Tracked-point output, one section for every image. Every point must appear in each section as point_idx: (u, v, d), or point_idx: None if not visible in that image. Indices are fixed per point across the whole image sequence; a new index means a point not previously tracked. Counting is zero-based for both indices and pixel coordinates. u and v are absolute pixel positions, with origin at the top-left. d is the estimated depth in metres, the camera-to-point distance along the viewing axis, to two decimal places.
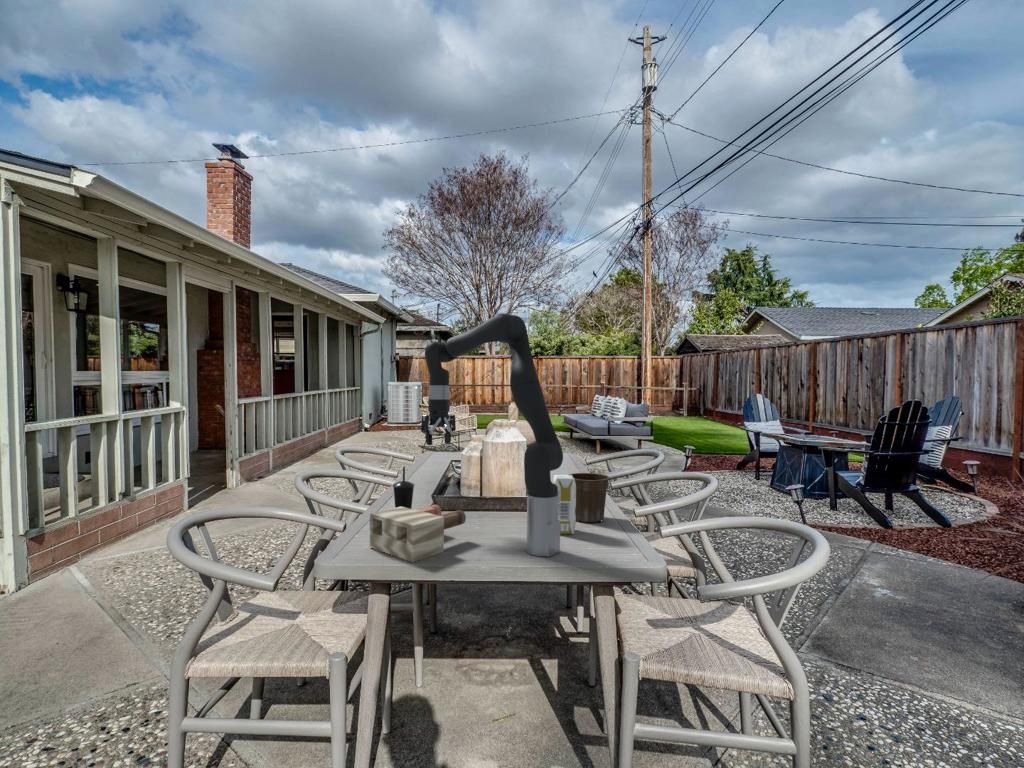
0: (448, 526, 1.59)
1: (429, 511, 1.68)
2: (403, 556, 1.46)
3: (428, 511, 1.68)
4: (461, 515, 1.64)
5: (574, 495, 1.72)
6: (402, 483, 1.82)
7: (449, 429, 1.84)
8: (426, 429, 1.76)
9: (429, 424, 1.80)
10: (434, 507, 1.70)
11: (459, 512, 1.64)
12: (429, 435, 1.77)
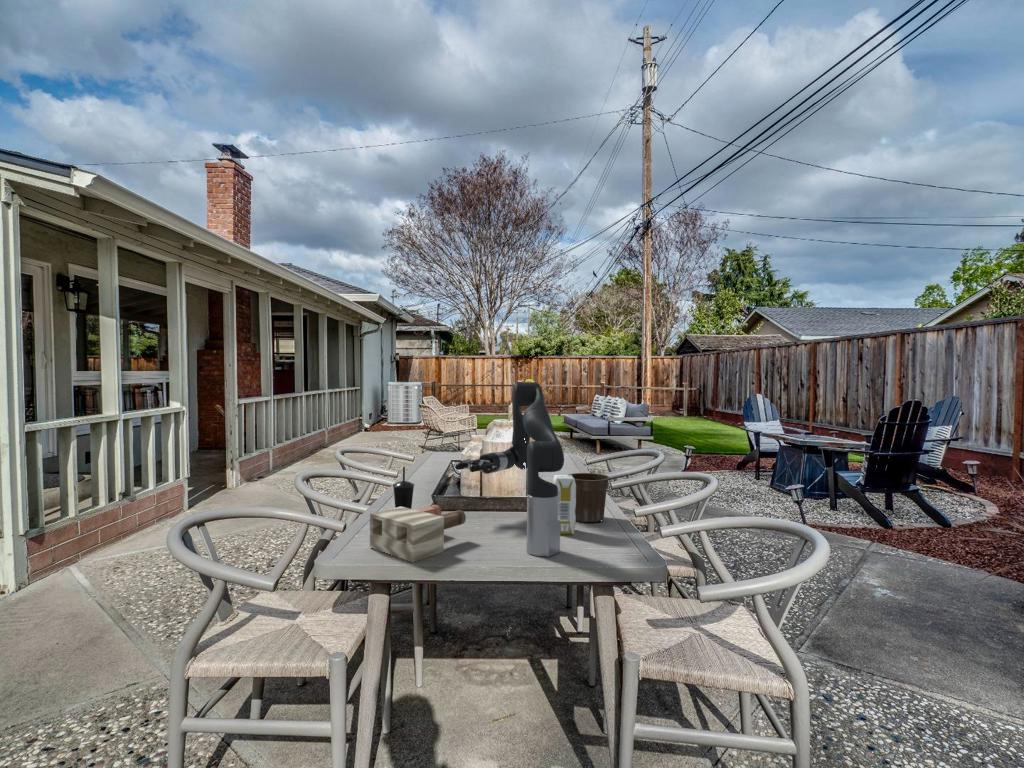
0: (448, 526, 1.59)
1: (429, 511, 1.68)
2: (403, 556, 1.46)
3: (428, 511, 1.68)
4: (461, 515, 1.64)
5: (574, 495, 1.72)
6: (402, 483, 1.82)
7: (480, 463, 1.85)
8: (462, 461, 1.91)
9: None
10: (434, 507, 1.70)
11: (459, 512, 1.64)
12: (461, 463, 1.88)
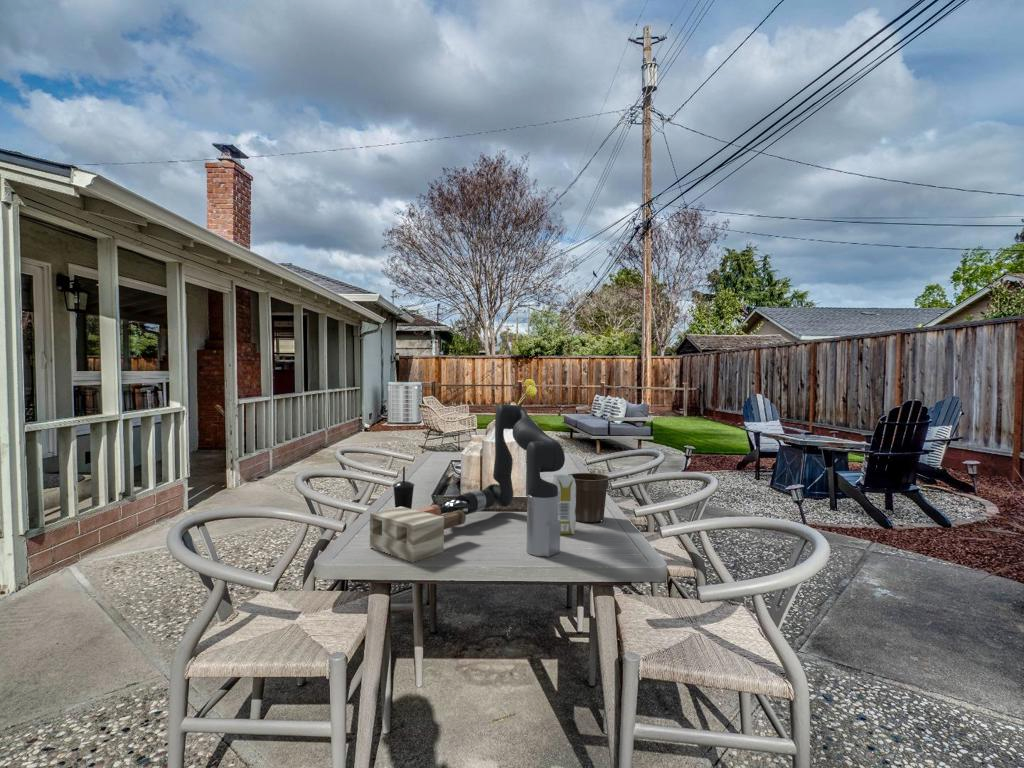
0: (448, 526, 1.59)
1: (429, 511, 1.68)
2: (403, 556, 1.46)
3: (428, 511, 1.67)
4: (461, 515, 1.64)
5: (574, 495, 1.72)
6: (402, 483, 1.82)
7: (447, 505, 1.77)
8: (442, 503, 1.79)
9: None
10: (434, 507, 1.70)
11: (459, 512, 1.64)
12: (441, 506, 1.76)
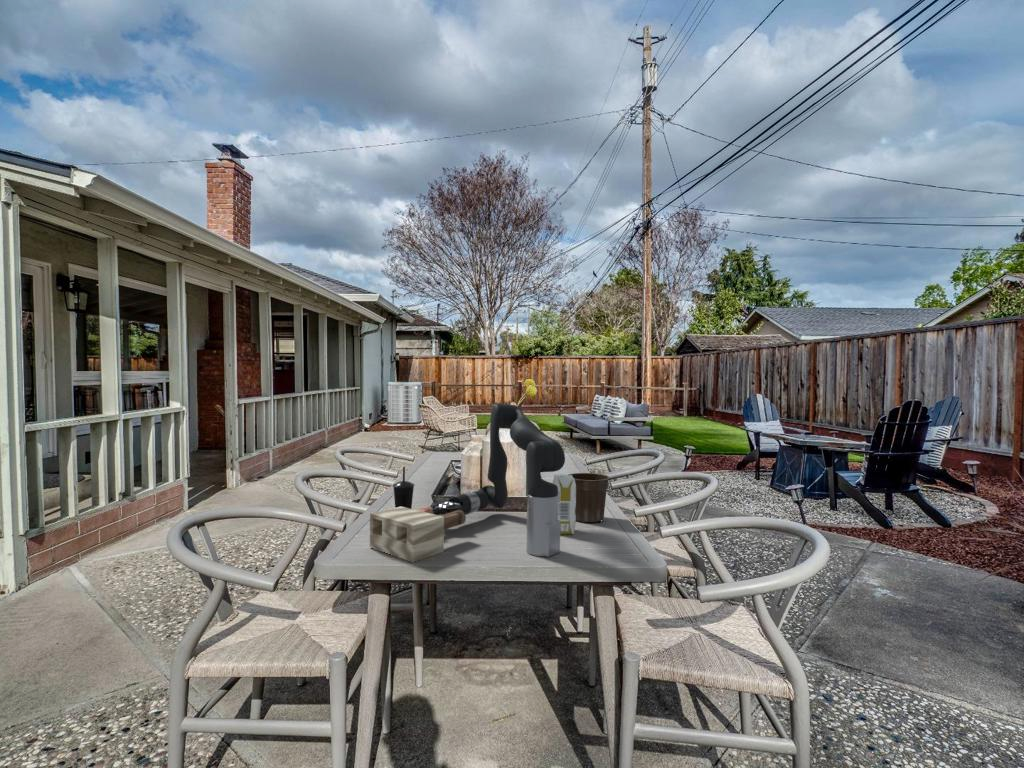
0: (448, 526, 1.59)
1: None
2: (403, 556, 1.46)
3: None
4: (461, 515, 1.64)
5: (574, 495, 1.72)
6: (402, 483, 1.82)
7: (440, 507, 1.74)
8: (434, 505, 1.76)
9: None
10: (426, 509, 1.68)
11: (459, 512, 1.64)
12: None
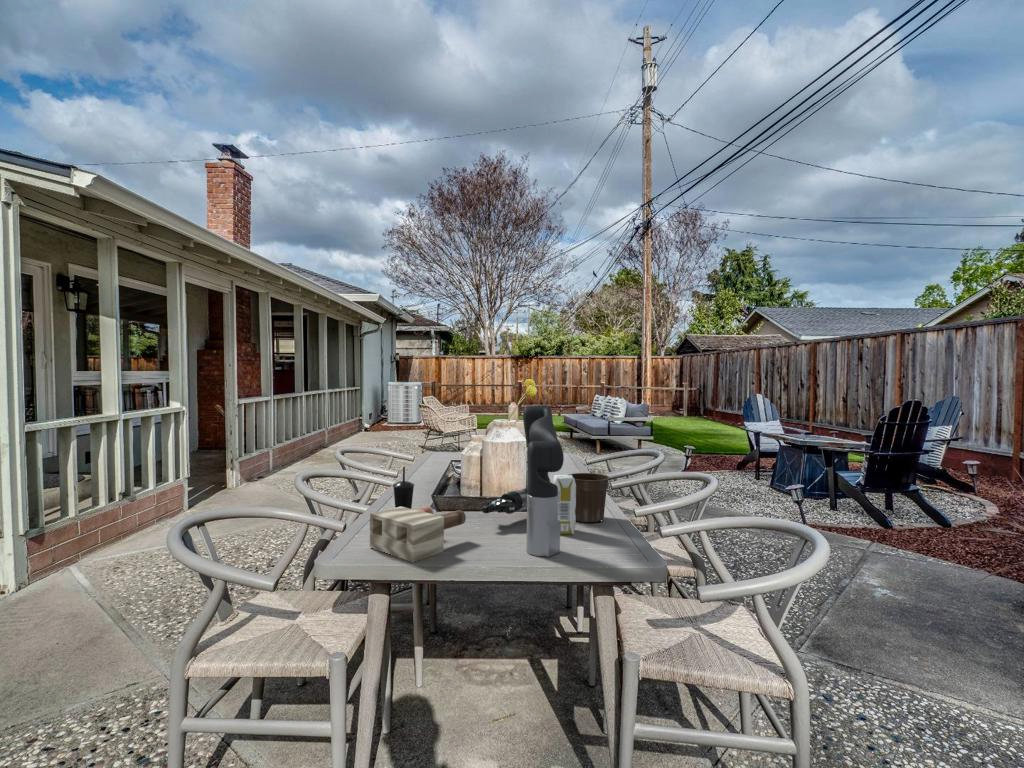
0: (448, 526, 1.59)
1: None
2: (403, 556, 1.46)
3: None
4: (461, 515, 1.64)
5: (574, 495, 1.72)
6: (402, 483, 1.82)
7: (494, 504, 1.79)
8: None
9: None
10: (426, 509, 1.67)
11: (459, 512, 1.64)
12: None
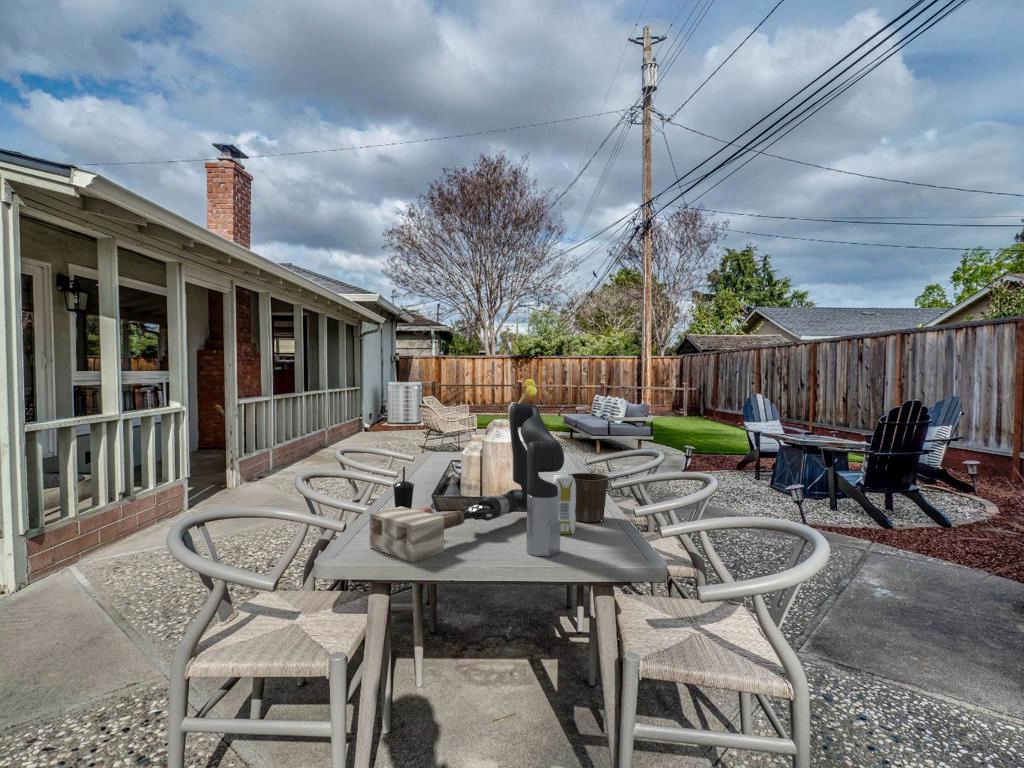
0: (447, 526, 1.59)
1: None
2: (403, 556, 1.46)
3: None
4: (460, 515, 1.63)
5: (574, 495, 1.72)
6: (402, 483, 1.82)
7: (470, 510, 1.70)
8: (464, 509, 1.72)
9: None
10: (426, 509, 1.67)
11: (458, 512, 1.64)
12: (464, 512, 1.69)
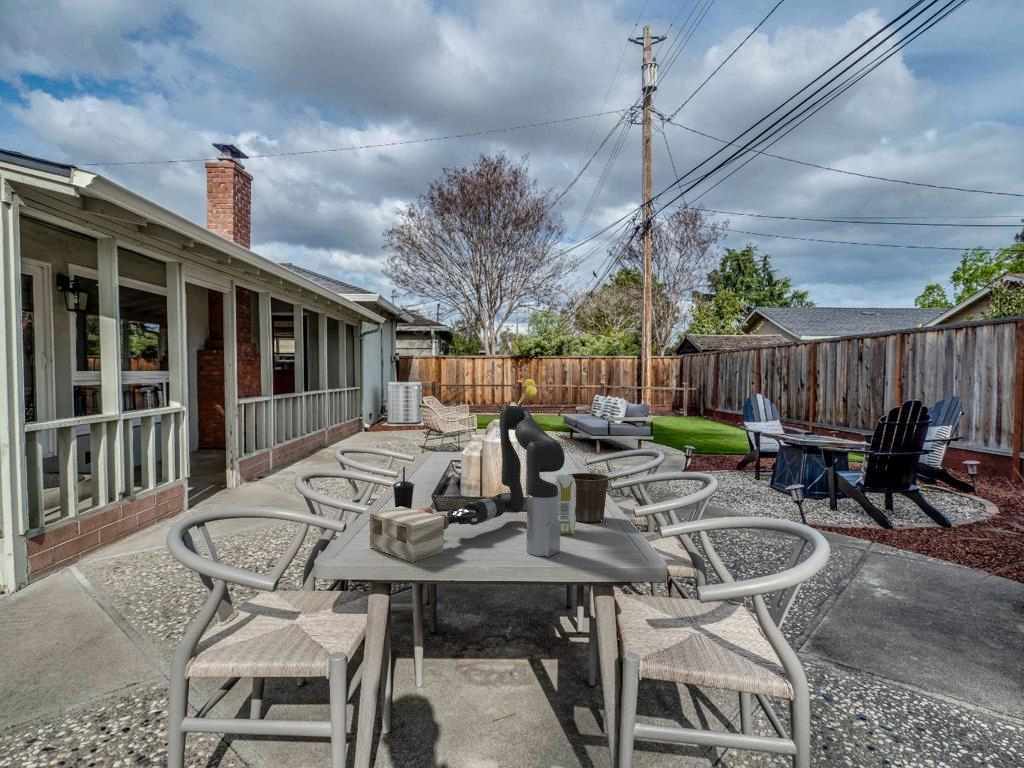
0: None
1: None
2: (403, 556, 1.46)
3: None
4: (444, 519, 1.58)
5: (574, 495, 1.72)
6: (402, 483, 1.82)
7: (455, 514, 1.64)
8: (449, 513, 1.66)
9: None
10: (426, 509, 1.67)
11: None
12: None
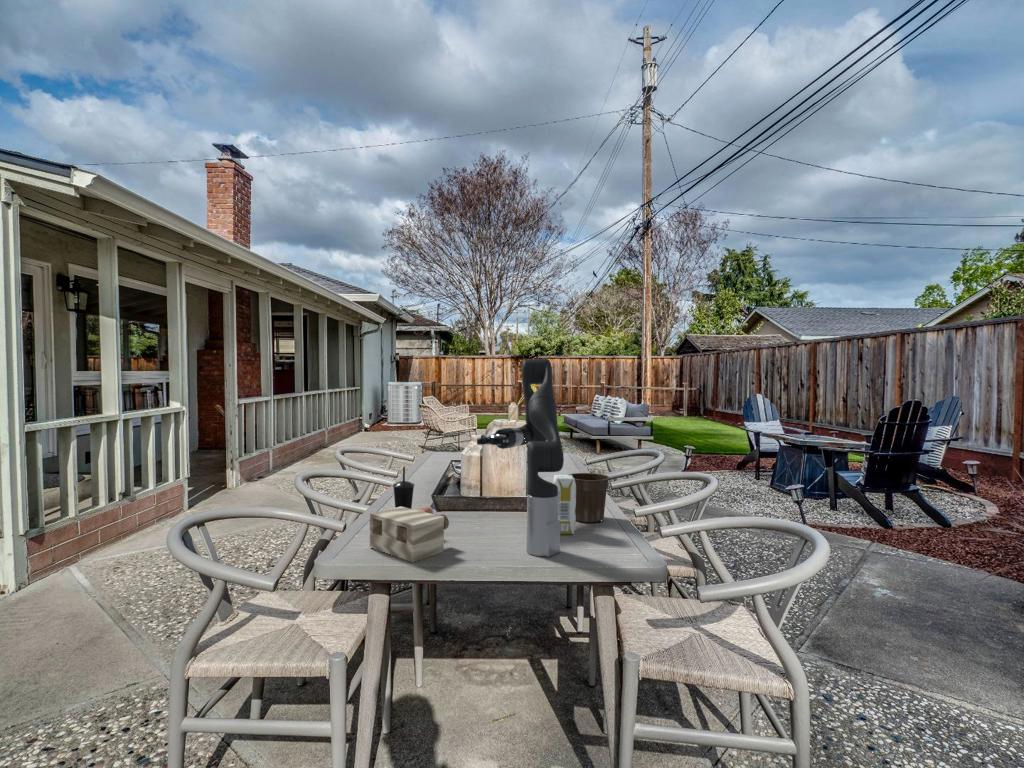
0: None
1: None
2: (403, 556, 1.46)
3: None
4: (444, 520, 1.58)
5: (574, 495, 1.72)
6: (402, 483, 1.82)
7: (488, 437, 1.83)
8: (482, 436, 1.86)
9: None
10: (426, 509, 1.67)
11: None
12: (482, 438, 1.83)
